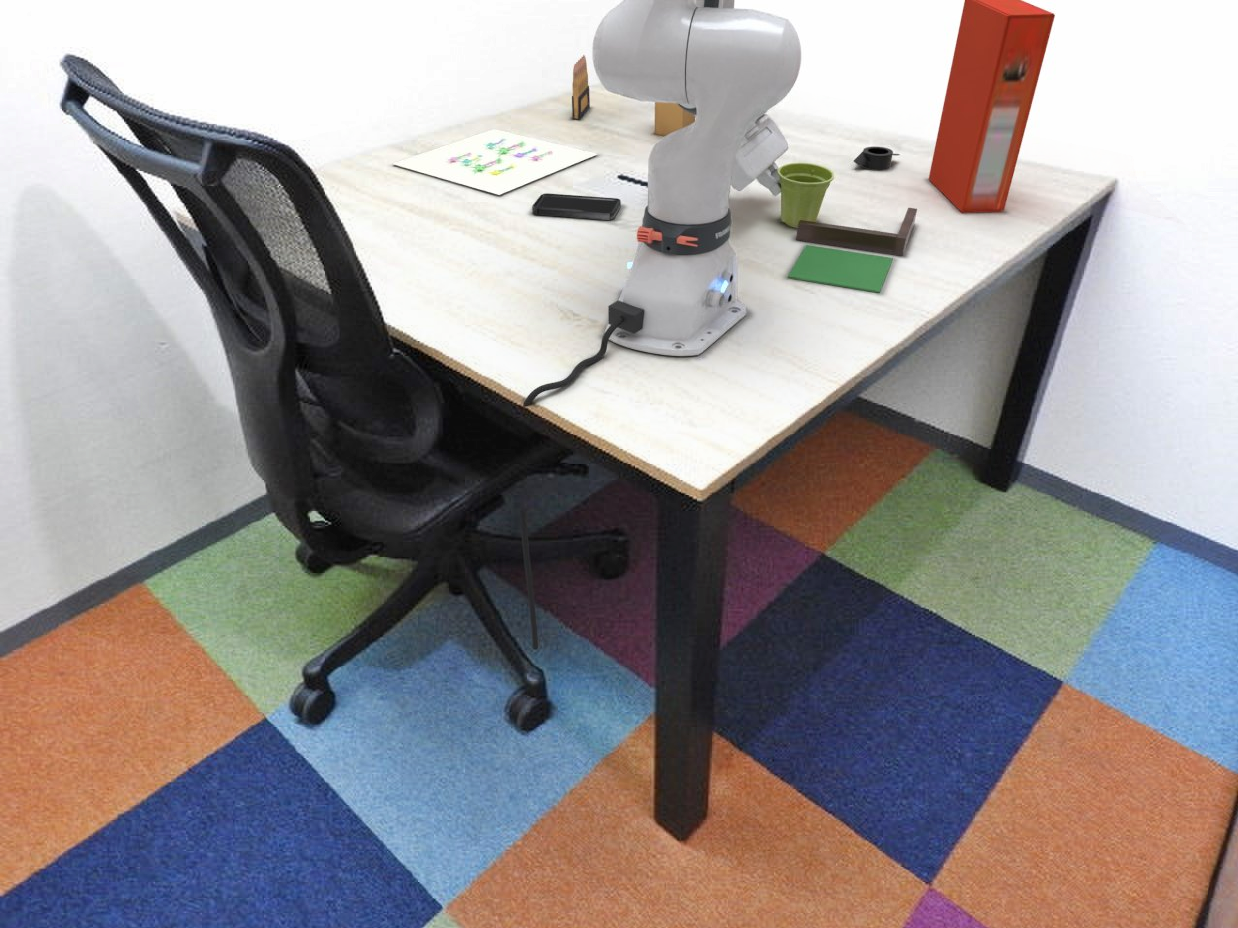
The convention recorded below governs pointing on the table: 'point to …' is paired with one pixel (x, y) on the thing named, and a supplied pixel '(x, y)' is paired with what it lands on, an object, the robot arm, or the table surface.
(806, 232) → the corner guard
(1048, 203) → the table surface
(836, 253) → the green cloth
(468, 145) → the printed paper
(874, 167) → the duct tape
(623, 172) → the table surface
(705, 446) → the table surface
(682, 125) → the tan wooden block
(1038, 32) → the file binder
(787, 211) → the plant pot
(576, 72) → the ammunition clip
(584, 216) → the phone
